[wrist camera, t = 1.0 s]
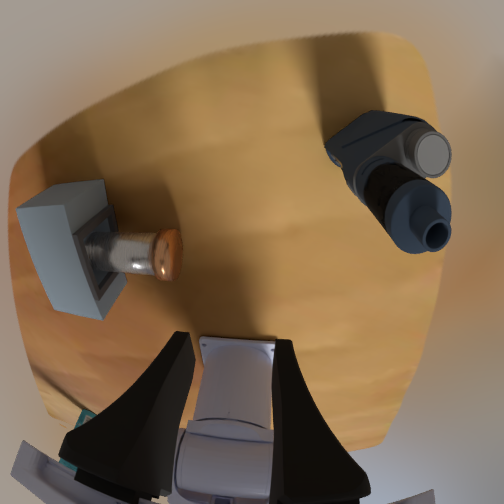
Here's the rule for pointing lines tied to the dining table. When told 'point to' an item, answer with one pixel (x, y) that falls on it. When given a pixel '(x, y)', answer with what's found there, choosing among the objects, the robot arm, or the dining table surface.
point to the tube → (82, 419)
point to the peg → (137, 253)
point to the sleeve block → (71, 246)
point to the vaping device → (397, 176)
